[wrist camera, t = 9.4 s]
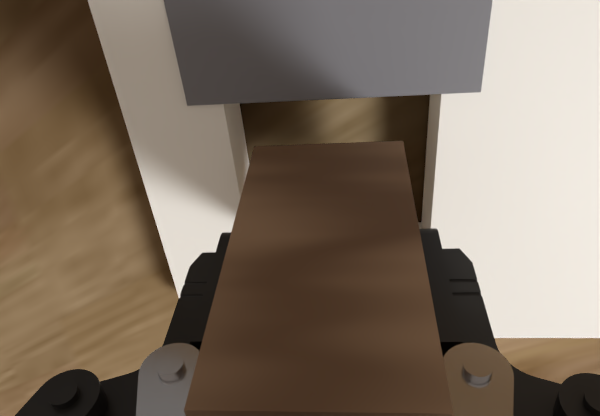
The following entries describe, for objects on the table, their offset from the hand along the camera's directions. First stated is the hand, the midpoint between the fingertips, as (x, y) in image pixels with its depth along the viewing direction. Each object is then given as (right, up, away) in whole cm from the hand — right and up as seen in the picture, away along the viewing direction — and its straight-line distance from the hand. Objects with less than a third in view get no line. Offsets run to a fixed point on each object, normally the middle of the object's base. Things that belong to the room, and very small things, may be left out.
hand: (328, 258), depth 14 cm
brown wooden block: (0, +1, +2) cm, 2 cm away
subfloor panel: (+3, +3, +4) cm, 6 cm away
